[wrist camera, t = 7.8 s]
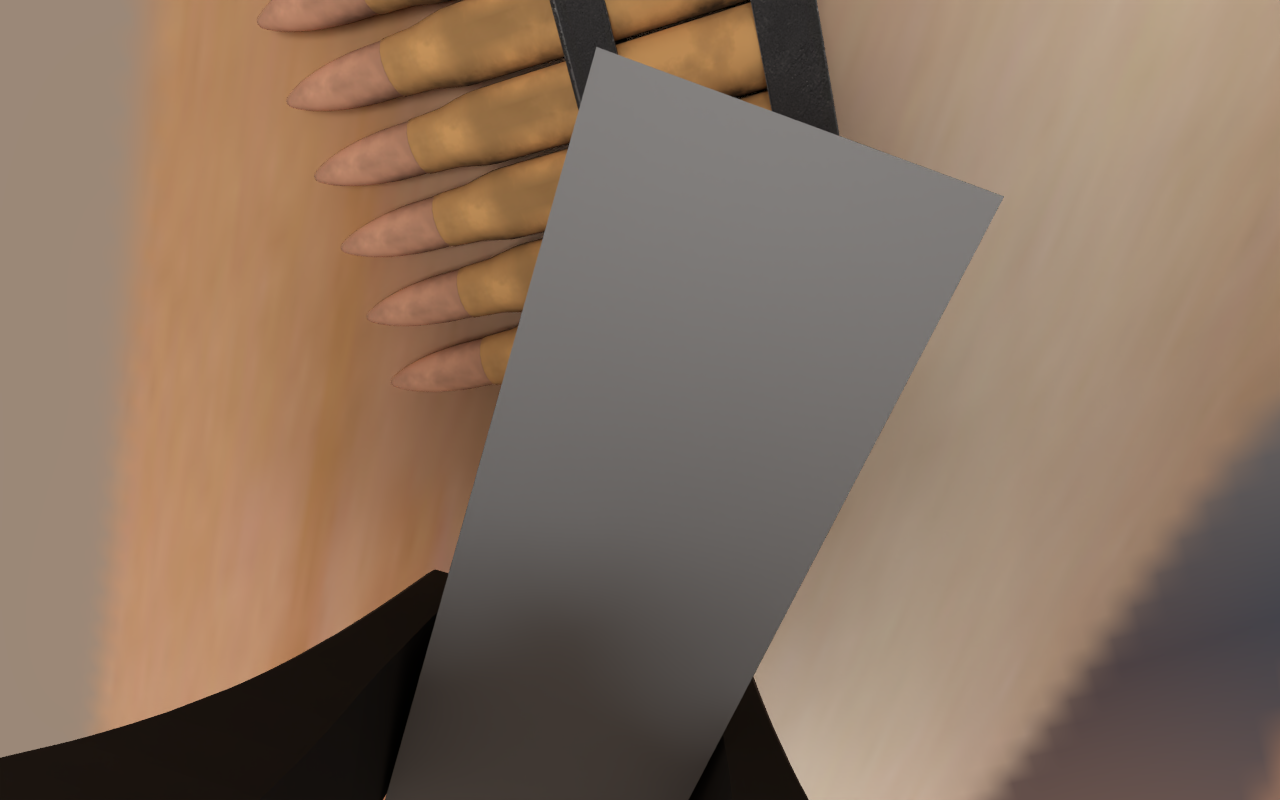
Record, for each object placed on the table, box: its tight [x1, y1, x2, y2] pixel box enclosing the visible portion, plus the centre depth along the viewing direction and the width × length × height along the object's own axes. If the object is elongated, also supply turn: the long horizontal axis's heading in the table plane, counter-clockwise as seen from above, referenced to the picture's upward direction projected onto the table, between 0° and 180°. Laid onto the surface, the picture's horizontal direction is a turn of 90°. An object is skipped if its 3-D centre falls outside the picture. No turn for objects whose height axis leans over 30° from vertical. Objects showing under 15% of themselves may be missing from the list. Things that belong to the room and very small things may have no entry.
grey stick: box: [385, 47, 1004, 800], centre depth 13 cm, size 4×18×5 cm, turn 161°
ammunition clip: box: [257, 0, 839, 392], centre depth 17 cm, size 11×2×12 cm
